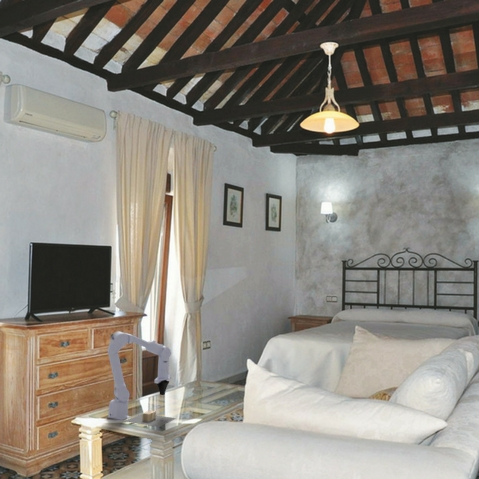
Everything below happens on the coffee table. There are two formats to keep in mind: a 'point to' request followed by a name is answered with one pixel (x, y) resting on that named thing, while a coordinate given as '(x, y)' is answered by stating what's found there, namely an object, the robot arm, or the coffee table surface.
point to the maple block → (149, 415)
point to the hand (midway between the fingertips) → (162, 394)
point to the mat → (155, 422)
